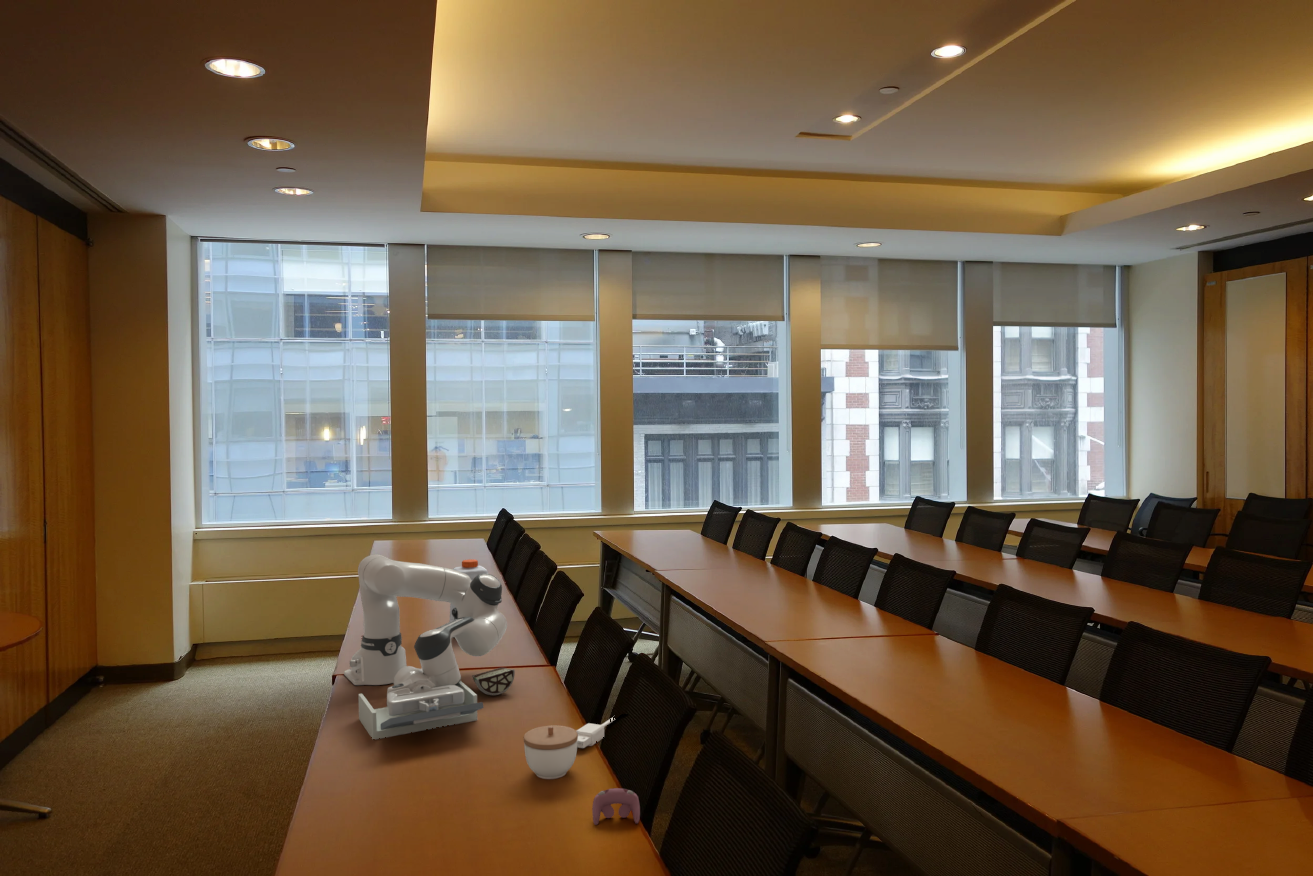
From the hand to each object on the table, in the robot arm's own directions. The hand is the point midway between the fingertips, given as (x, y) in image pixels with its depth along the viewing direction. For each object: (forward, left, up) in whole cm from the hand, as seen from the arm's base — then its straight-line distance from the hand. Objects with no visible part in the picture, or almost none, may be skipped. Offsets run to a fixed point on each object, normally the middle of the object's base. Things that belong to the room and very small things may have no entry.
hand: (432, 708), depth 230 cm
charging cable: (+27, +35, -8) cm, 45 cm away
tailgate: (-6, +2, -5) cm, 9 cm away
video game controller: (+68, +4, -8) cm, 68 cm away
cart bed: (-16, +4, -8) cm, 18 cm away
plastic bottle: (-88, +66, -8) cm, 110 cm away
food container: (-26, +34, -6) cm, 43 cm away
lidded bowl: (+39, +9, -8) cm, 41 cm away
